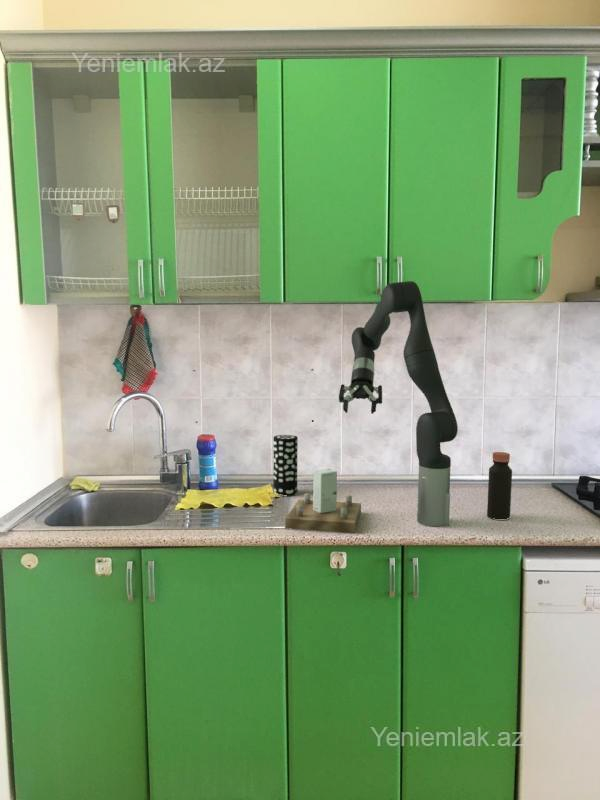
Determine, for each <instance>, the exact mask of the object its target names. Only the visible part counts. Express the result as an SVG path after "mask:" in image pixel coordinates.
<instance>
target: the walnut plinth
mask: <svg viewBox="0 0 600 800" xmlns="http://www.w3.org/2000/svg"><path fill="white" fill-rule="evenodd" d="M361 513H362V503H361V502H353V496H352V495H346V496H345V502H344V501H337V504H336V511H331V512H325V513H318V512H316V511H314V510H313V499H312V500H311V493H309V492H305V493H304V499H297V501H296V503H295V504H294V506H293V507H292V508H291V510H290V511H289V513H288V514H287V516H286V517H285V518H284V519H285V521H284V522H285V524H284V526H285V527H284V528H285V529H286V528H292V529H291V530H300V529H302V531H305V530H306V531H316V532H318V531H319V532H331V533H344V534H345V533H348V534H355V533H356V530H357V528H358V524H357V523H359V519H360V517H361Z"/></svg>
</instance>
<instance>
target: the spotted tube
mask: <svg viewBox="0 0 600 800" xmlns="http://www.w3.org/2000/svg"><path fill="white" fill-rule="evenodd" d="M298 439H299V438H298V436H297V435H293V434H278V435H274V436H273V474H272V475H273V479H272V480H273V484H272V485H273V486H272V487H273V489H272V490H274V492H276V493H278V494H280V495H287V497H292V496H293V497H294V496H296V495H297V494H298V447H299V446H298Z"/></svg>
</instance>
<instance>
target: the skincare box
mask: <svg viewBox="0 0 600 800" xmlns="http://www.w3.org/2000/svg"><path fill="white" fill-rule="evenodd" d="M312 484H313V487H312V488H313V490H312V492H313V493H312V494H313V496H312V500H313V510H314V511H316V512H318V513H325V512H331V511H336V504H337V502H338V500H337V496H338V495H337V492H338V489H337V488H338V472H337V471H336V470H333V469H331V468H327V469H319V470H318V469H317V470H313V483H312Z"/></svg>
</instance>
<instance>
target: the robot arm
mask: <svg viewBox="0 0 600 800" xmlns="http://www.w3.org/2000/svg"><path fill="white" fill-rule="evenodd" d="M420 290H421V289H420V288H419V285H418V284H417V283H416V282H415V281H411V280H409V281H407V280H406V281H399V282H391V283H387V285H386V286H384V288H383V289H382V291H381V293H382V294H380V296H381V301H380V303H378V302H377V303H376V306H375V309H374V311H373V313H372V315H371V317H369V319H368V321H367V322H366V323H365V325H364V327H361V326H359V327H356V328H355V329H354V330H353V332H352V335H351V344H352V349H353V353H354V358H353V359H354V360H353V365H352V369H351V377H350V385H349V386H347V385H345V384H342V383H341V385H340V390H339V394H338V403H341V404H342V403H343V405H342V410H343V412H344V414H345V413H348V411H349V403H350V402H352V401H353V400H355V399H356V400H358V399H359V400H360V399H363V400H366V399H367V400H368V401H369V402H371V406H370V409H371V410H370V412H371V414H373V415H374V414H375V413H376V411H377V404H379V405H381V404H383V385H380V384H379V385H378V386H374V378H375V358H376V353H375V351H377V350H378V349H379V347H380V346H381V344H382V343H381V342H382V337H383V335H384V334H386V332H387V331H388V329H389V328H390V325H391V316H390V314H392V313H405V312H406V313H408V317H409V321H410V322H409V323H410V326H409V332H408V335H407V338H406V341H405V343H404V347H403V358H404V364H405V367H406V370H407V373H408V376H409V378H410V379H411V381H412V382H413V383H414V385H415V386H416V387H417V388H418V389H419V390H420V391H421V393H422V394H423V396H424V397H425V398H426V400H427V403H428V406H429V409H430V412H425V413H423V414H421V415H420V416H419V417H418V419H417V423H416V428H415V429H416V430H415V432H416V433H415V435H416V436H415V438H416V456H417V458H418V480H417V481H418V482H417V483H418V484H417V485H418V486H417V487H418V488H417V511H416V518H417V520H416V522H418V523H419V524H421V525H423V524H424V525H423V526H427V527H428V526H429V527H444V526H447V525H449V526H450V512H451V511H450V509H451V508H450V507H451V502H450V501H451V493H450V491H451V488H450V487H451V466H452V465H451V462H452V461H451V457H450V456H449V455H447V454H445V453H442V450H441V443H443V444H444V443H448V442H452V441H453V440H455V438H456V437H457V434H458V430H459V429H458V428H459V427H458V421H457V417H456V415H455V412H454V410H453V408H452V405H451V402H450V400H449V397H448V395H447V392H446V389H445V386H444V383H443V379H442V376H441V372H440V367H439V363H438V359H437V357H436V356H437V355H436V353H435V349H434V346H433V343H432V340H431V335H430V333H429V329H428V325H427V321H426V314H425V310H424V309H425V308H424V303H423V297H422V294H421V293H422V292H421V291H420ZM347 391H349V392H348V393H347ZM374 392H375V393H376V394H377V395H378V396H377V397H375V395H374ZM346 393H347V394H346ZM345 394H346V395H345Z"/></svg>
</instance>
